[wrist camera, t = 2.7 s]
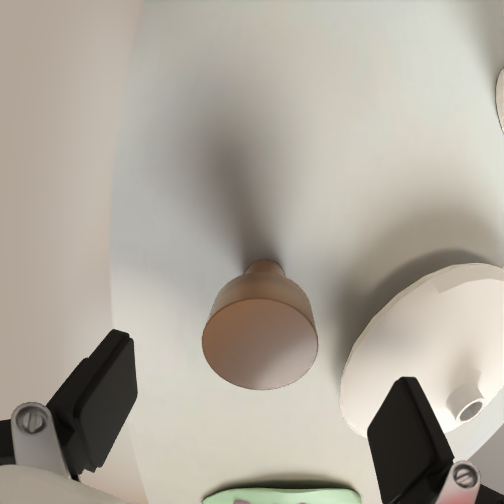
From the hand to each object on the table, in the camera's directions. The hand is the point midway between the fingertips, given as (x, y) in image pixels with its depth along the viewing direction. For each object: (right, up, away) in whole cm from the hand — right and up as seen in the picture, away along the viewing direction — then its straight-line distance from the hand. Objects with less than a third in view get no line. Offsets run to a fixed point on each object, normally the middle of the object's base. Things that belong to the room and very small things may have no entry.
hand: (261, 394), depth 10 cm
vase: (+13, -2, +10) cm, 16 cm away
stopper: (0, +3, +9) cm, 9 cm away
